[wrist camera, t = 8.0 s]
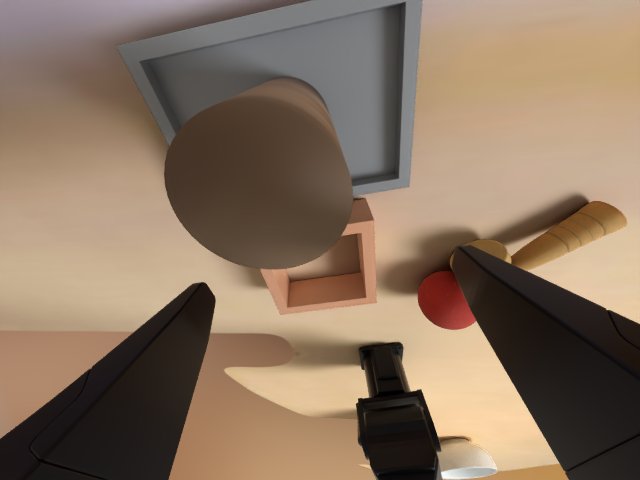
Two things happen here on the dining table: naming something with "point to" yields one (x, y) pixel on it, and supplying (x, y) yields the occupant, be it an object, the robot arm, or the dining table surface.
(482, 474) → the cereal bowl
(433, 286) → the kendama
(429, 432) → the robot arm
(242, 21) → the grey tray
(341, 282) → the pink rectangular frame
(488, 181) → the dining table surface
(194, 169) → the walnut peg
